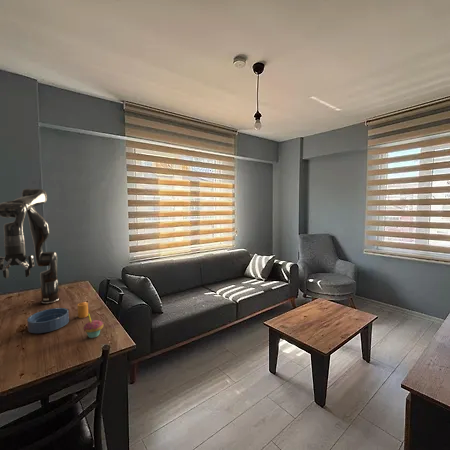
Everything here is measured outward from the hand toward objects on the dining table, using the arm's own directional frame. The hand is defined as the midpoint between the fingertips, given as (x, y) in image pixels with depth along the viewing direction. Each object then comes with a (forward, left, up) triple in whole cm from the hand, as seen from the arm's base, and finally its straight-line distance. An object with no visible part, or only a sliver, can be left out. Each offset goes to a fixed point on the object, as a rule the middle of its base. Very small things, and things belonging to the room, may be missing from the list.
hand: (17, 277), depth 120 cm
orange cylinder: (-13, +24, -29) cm, 40 cm away
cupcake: (+12, +35, -29) cm, 47 cm away
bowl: (-5, +10, -29) cm, 31 cm away
